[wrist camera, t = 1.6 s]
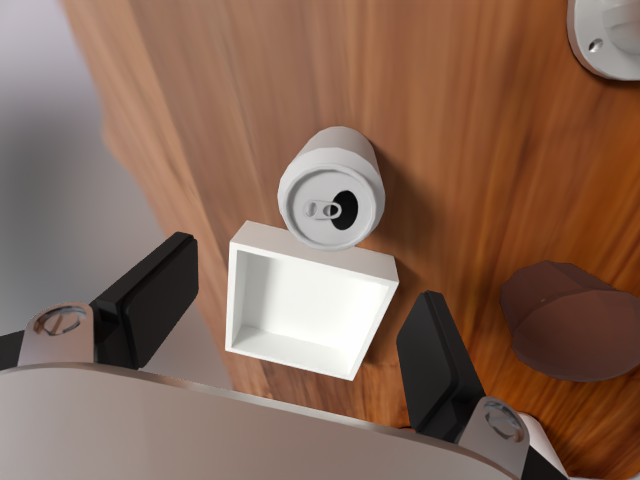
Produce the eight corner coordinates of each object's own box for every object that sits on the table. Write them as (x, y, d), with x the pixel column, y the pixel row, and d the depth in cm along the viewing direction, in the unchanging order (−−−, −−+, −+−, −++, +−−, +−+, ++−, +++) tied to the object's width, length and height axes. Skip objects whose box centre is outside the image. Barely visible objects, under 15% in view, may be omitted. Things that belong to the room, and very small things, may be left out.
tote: (393, 255, 32) (399, 282, 28) (353, 350, 42) (352, 380, 37) (246, 220, 32) (229, 241, 28) (238, 322, 41) (225, 350, 37)
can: (368, 203, 29) (374, 268, 19) (300, 193, 30) (270, 252, 19) (383, 130, 26) (401, 162, 15) (305, 120, 26) (271, 145, 16)
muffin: (565, 231, 28) (656, 295, 20) (617, 289, 31) (716, 368, 23) (466, 292, 34) (503, 363, 25) (518, 337, 37) (567, 415, 28)
